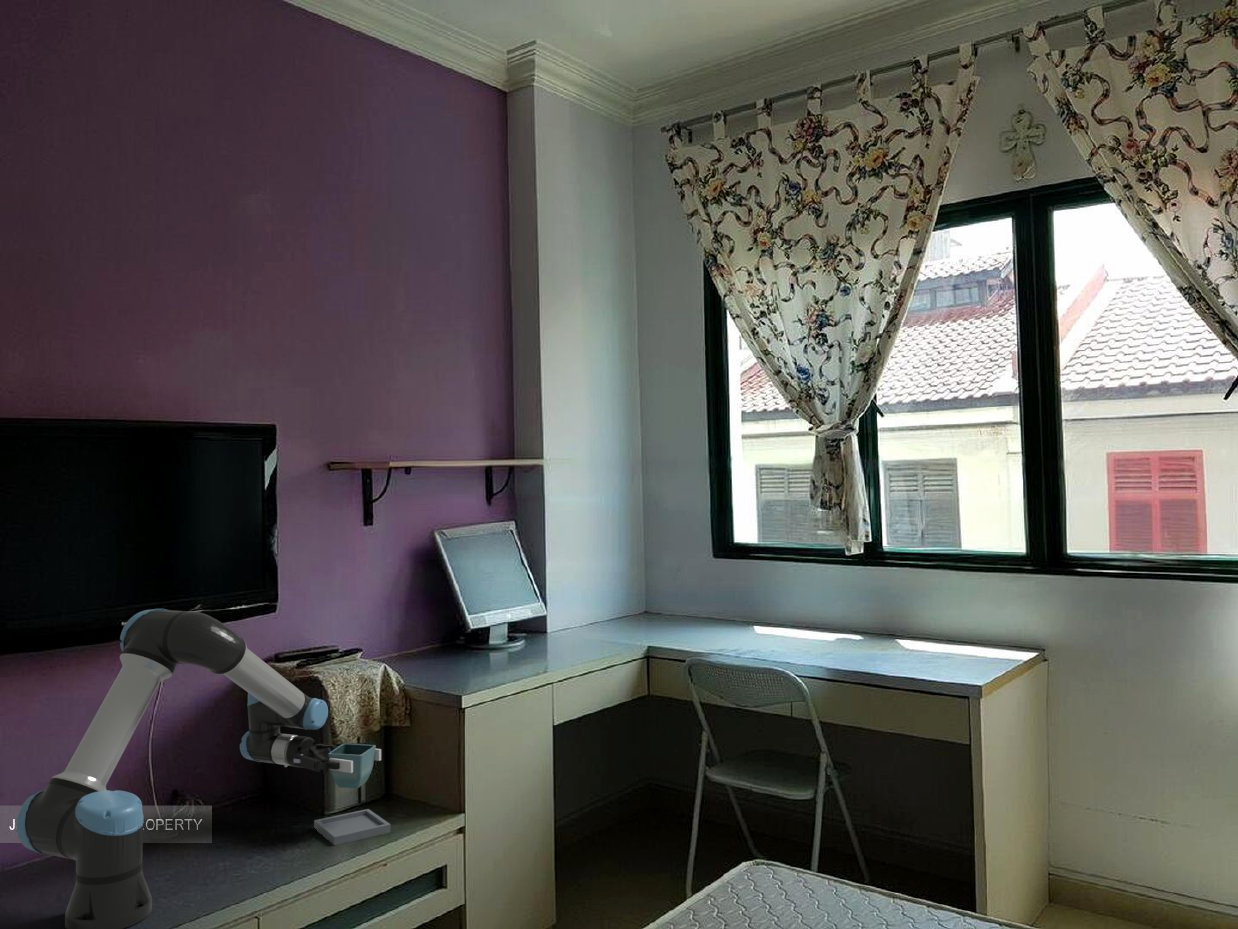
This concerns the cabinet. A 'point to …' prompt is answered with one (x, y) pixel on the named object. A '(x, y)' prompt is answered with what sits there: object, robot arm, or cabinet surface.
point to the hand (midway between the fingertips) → (366, 761)
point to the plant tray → (352, 826)
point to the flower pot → (361, 764)
